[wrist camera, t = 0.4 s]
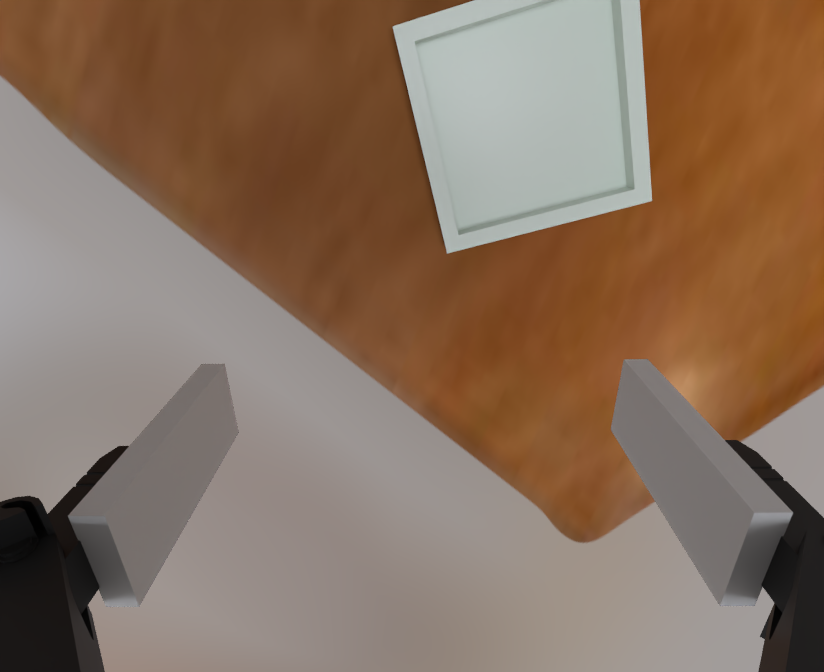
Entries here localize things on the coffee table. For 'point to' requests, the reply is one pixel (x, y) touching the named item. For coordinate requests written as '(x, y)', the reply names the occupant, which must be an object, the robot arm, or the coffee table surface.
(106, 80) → the coffee table surface
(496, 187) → the tray
